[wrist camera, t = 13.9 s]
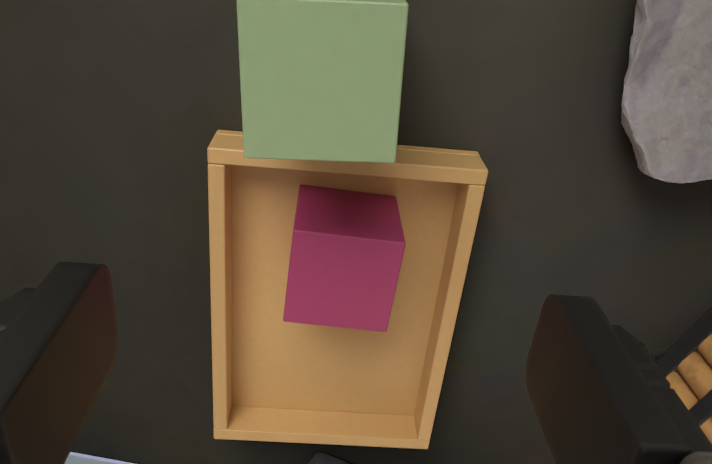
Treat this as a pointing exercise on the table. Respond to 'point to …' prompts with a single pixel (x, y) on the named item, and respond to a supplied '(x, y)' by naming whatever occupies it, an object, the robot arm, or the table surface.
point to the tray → (325, 343)
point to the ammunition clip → (693, 371)
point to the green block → (321, 78)
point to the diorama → (90, 459)
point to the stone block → (670, 90)
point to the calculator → (325, 459)
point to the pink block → (344, 259)
